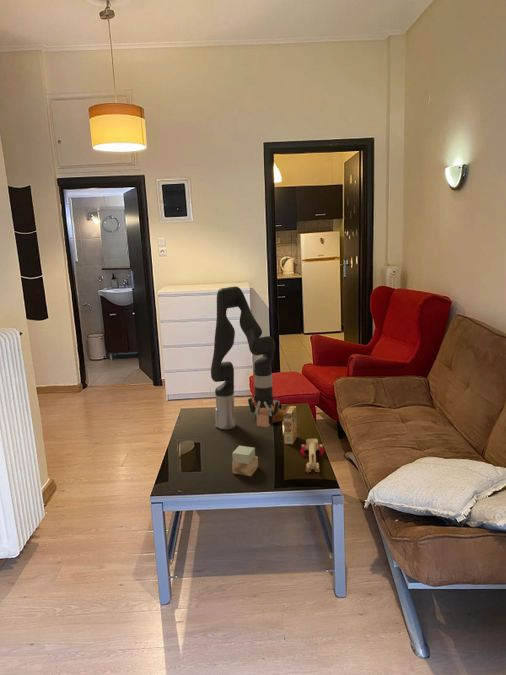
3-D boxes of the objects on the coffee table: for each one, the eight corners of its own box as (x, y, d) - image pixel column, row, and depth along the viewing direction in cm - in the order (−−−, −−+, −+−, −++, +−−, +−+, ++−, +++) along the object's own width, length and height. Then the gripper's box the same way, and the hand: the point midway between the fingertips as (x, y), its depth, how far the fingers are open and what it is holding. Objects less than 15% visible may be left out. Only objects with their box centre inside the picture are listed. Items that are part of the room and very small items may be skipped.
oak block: (232, 473, 200) (232, 462, 199) (240, 464, 208) (239, 453, 207) (250, 476, 197) (250, 465, 196) (258, 467, 205) (257, 456, 204)
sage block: (232, 461, 200) (232, 452, 199) (239, 454, 206) (239, 445, 205) (248, 464, 197) (248, 455, 196) (255, 456, 203) (254, 447, 203)
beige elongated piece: (325, 475, 198) (323, 444, 222) (325, 456, 196) (322, 427, 219) (300, 475, 199) (300, 444, 223) (300, 456, 197) (300, 426, 221)
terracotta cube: (256, 425, 206) (256, 414, 205) (261, 421, 210) (260, 410, 209) (267, 427, 204) (267, 415, 203) (272, 422, 208) (271, 411, 207)
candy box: (293, 444, 224) (292, 413, 221) (283, 443, 225) (283, 412, 222) (297, 436, 232) (296, 406, 229) (288, 435, 234) (287, 405, 230)
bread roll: (285, 427, 249) (286, 413, 247) (254, 424, 249) (256, 410, 247) (283, 416, 263) (285, 402, 261) (254, 413, 263) (256, 399, 261)
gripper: (243, 385, 202) (245, 424, 206) (276, 388, 197) (277, 428, 201) (250, 380, 209) (252, 417, 213) (282, 383, 204) (283, 421, 208)
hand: (264, 422), depth 207 cm, fingers closed on terracotta cube, 5 cm apart
